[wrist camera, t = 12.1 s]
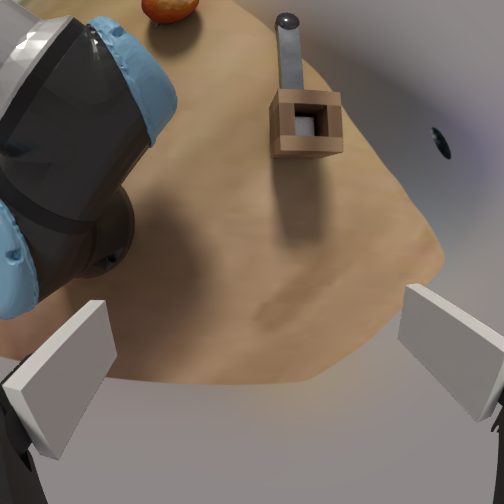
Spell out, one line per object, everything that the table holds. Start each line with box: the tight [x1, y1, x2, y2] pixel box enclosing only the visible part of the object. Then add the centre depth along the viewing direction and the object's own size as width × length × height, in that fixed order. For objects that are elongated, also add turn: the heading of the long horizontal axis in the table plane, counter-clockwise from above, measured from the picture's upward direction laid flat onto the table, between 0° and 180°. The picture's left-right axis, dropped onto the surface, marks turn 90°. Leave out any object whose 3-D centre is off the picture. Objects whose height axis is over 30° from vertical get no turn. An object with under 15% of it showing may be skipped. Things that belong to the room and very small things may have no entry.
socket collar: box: [269, 89, 343, 158], centre depth 32 cm, size 6×6×8 cm
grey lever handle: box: [273, 13, 314, 158], centre depth 33 cm, size 5×22×7 cm, turn 2°
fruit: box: [142, 0, 199, 28], centre depth 30 cm, size 8×8×8 cm
